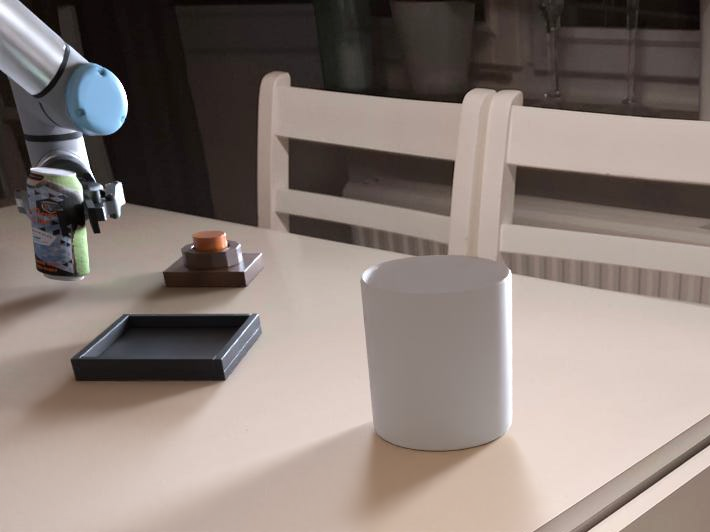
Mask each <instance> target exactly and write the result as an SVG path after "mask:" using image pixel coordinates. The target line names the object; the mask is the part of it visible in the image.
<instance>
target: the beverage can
mask: <svg viewBox="0 0 710 532" xmlns="http://www.w3.org/2000/svg"><path fill="white" fill-rule="evenodd" d="M29 171H30V172H29V174H28V177H27V179H26V190H27V192H28V201H29V210H30V218H31V221H30V226H31V234H32V243H33V251H34V260H35V268H36V271H38V272H39V273H41V274H42V275H43V277H45V278H47V279H50V280H54V281H64V282H76V281H77V282H78V281H82V280H84V278H85V276H87V275H89V274H90V271H91V270H90V261H89V260H90V259H89V258H90V257H89V247H88V238H87V237H88V235H87V224H86V221H85V213H84V201H83V190H82V185H81V184H80V182H79V181H78V179H77V178H76V173H75V172H73V171H69V170H63V169H55V168H32V167H30V169H29ZM55 207H62V208H63V212H64V216H65V220H66V224H67V228H68V232H69V236H67V237H63V236H62V232H61V228H60V224H59V220H58V216H57V212H56V208H55Z"/></svg>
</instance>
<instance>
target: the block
mask: <svg viewBox="0 0 710 532" xmlns="http://www.w3.org/2000/svg"><path fill="white" fill-rule="evenodd" d="M226 240H227V246H228V248H225V249H222V250H215V251H196V250H194V244H193V242H192V243H188V244H186V245H184V246H183V247H182V248H181V249H180V250H181V256H180V257H179V258H178V259H177V260H175V261H174V262H173V263H172V264H171V265H169V266H168V267H167V268H165V270H163V271H162V276H163V280H164V285H165V286H164V287H166V288H197V287H198V288H199V287H200V288H202V287H203V288H205V287H206V288H207V287H208V288H209V287H213V288H215V287H221V288H223V287H227V288H228V287H248V285H250V283H251V282H252V281H253V280H254V279H255V278H256V276H258V274H260V272H261V271H262V270H263V269H264V268H265V266H264V265H265V264H264V258H263V253H262V252H243V253H242V246H241V244H240V243H239V242H237V241H235V240H229V239H226Z"/></svg>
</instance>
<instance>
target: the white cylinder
mask: <svg viewBox="0 0 710 532" xmlns="http://www.w3.org/2000/svg"><path fill="white" fill-rule="evenodd" d="M359 281H360V282H359V283H360V292H361V302H362V304H361V305H362V315H363V325H364V336H365V347H366V357H367V358H366V360H367V370H368V379H369V380H368V381H369V393H370V401H371V413H372V422H373V428H374V431H375V433H376V434H377V435H378V436H379V437H380V438H381V439H383V441H385V442H388V443H390V444H392V445H394V446H398V447H402V448H405V449H409V450H410V449H411V450H416V451H428V452H446V451H456V450H457V451H458V450H459V451H460V450H465V449H470V448H475V447H478V446H483V445H486V444H488V443H490V442H493V441H496V440H497V439H499V438H501V437H502V436H503V435H505V433H507V431H508V430H509V429H511V426H512V423H513V275H512V271H511V269H510V268H509V267H507V265H506V264H504V263H501V262H500V261H497V260H494V259H491V258H487V257H480V256H473V255H463V254H431V255H429V254H428V255H417V256H409V257H401V258H397V259H392V260H388V261H383V262H381V263H377V264H375V265H372V266H370V267H369V268H367V269H366V270H365V271H364V272H363V273H362V274H361V276H360V280H359Z"/></svg>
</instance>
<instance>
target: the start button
mask: <svg viewBox="0 0 710 532" xmlns="http://www.w3.org/2000/svg"><path fill="white" fill-rule="evenodd" d="M191 239H192V243H193V244H194V250H196V251H215V250H222V249H225V248H228V246H227V240H228V239H227V234H226V232H224V231H222V230H204V231H199V232H195V233H193V234H192V235H191Z"/></svg>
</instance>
